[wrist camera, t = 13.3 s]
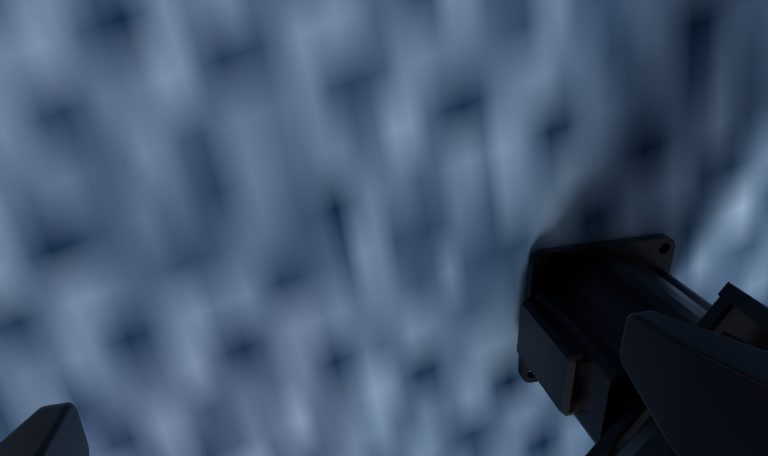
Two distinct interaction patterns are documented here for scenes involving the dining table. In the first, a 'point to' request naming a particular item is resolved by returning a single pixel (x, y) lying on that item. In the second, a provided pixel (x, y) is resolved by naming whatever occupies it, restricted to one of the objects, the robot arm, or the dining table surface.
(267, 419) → the dining table surface
